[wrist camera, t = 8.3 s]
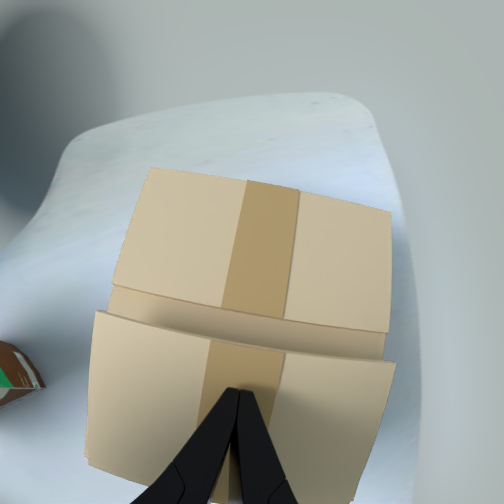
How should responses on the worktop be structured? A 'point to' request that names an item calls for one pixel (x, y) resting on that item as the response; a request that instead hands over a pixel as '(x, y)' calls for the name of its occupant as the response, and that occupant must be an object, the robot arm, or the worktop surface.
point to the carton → (256, 266)
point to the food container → (16, 375)
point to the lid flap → (208, 392)
